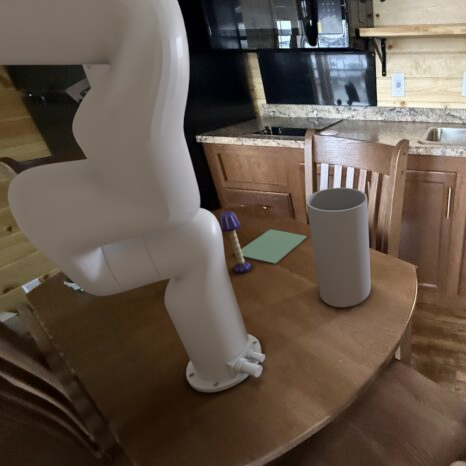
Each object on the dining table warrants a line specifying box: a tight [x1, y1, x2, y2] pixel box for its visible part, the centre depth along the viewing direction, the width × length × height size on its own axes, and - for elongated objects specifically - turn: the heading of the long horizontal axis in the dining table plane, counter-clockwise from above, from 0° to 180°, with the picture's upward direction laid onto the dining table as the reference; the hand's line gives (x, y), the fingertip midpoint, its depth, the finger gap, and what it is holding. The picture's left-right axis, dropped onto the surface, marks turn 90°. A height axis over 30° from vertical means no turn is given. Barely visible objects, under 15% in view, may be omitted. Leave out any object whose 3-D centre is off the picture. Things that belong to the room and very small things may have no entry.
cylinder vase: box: [306, 187, 372, 308], centre depth 72 cm, size 12×12×25 cm
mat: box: [234, 228, 308, 265], centre depth 96 cm, size 14×16×1 cm
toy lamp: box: [219, 211, 252, 274], centre depth 82 cm, size 5×5×17 cm
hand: (144, 132), depth 64 cm, fingers open, 9 cm apart
